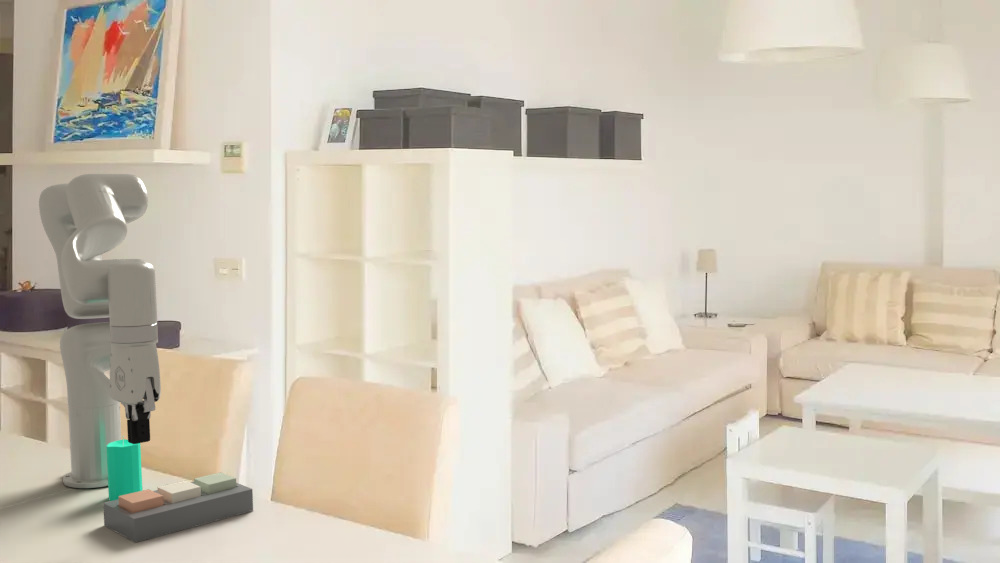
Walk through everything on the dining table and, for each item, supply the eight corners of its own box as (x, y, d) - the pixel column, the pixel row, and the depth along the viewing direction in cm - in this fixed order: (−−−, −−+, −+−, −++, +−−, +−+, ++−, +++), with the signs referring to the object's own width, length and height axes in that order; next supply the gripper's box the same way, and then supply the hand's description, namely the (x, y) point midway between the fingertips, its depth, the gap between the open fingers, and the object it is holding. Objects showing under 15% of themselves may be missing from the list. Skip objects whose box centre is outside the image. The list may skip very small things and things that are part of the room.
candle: (131, 503, 179) (128, 440, 178) (102, 501, 180) (99, 438, 179) (148, 493, 185) (146, 431, 184) (120, 491, 186) (118, 430, 185)
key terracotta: (119, 514, 165) (118, 496, 165) (149, 506, 169) (148, 489, 169) (133, 521, 162) (132, 503, 161) (163, 513, 165) (163, 495, 165)
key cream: (158, 504, 170) (157, 487, 170) (186, 497, 174) (185, 480, 174) (172, 511, 167) (171, 493, 166) (201, 504, 170) (200, 486, 170)
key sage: (194, 495, 175) (194, 478, 175) (221, 489, 179) (220, 472, 179) (209, 502, 172) (209, 484, 171) (236, 495, 175) (236, 478, 175)
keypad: (104, 525, 167) (103, 502, 167) (219, 496, 183) (218, 475, 182) (135, 542, 159) (134, 518, 158) (253, 510, 174) (252, 488, 174)
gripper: (93, 333, 165) (98, 439, 166) (132, 341, 154) (137, 453, 156) (135, 329, 170) (140, 431, 172) (176, 336, 160) (181, 445, 161)
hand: (139, 441), depth 164 cm, fingers closed
